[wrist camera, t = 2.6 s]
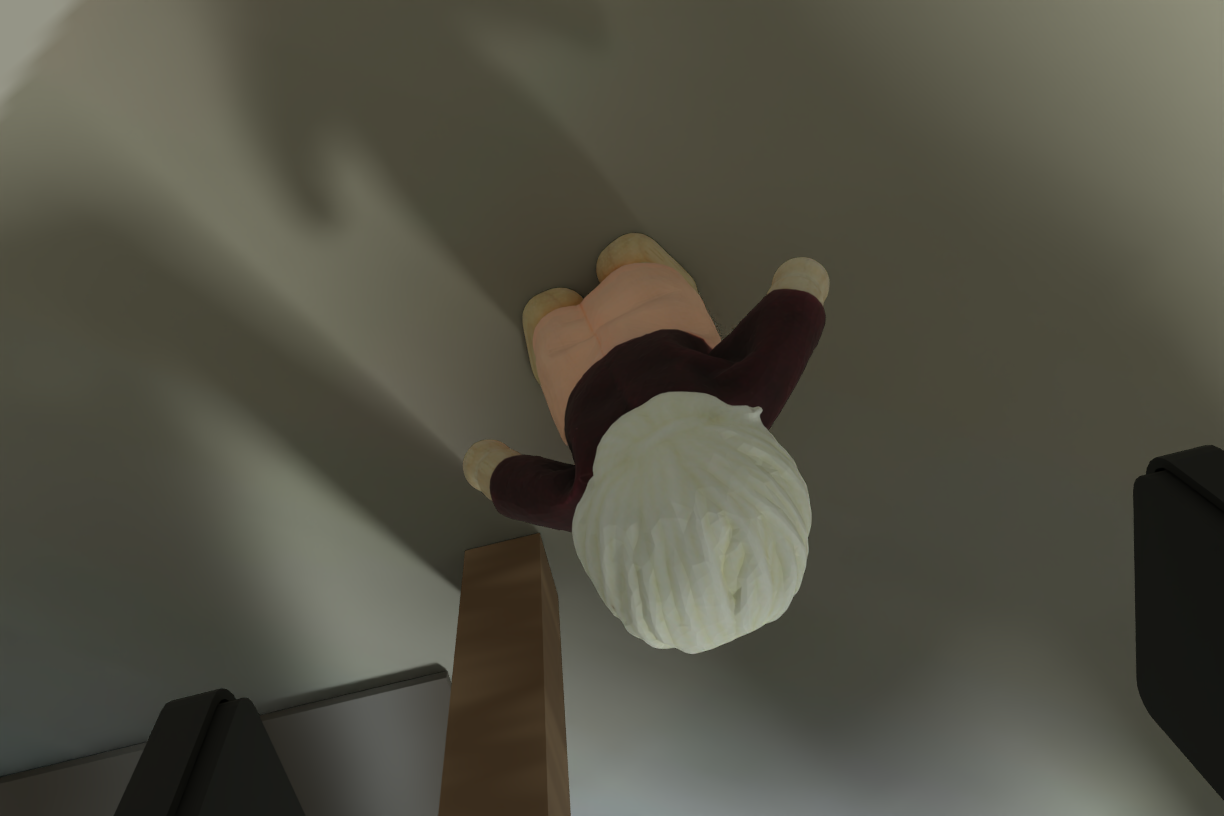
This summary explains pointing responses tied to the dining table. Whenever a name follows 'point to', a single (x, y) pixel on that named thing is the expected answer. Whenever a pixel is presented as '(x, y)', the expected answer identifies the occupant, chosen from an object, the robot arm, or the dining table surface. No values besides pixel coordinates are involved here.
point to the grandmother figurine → (668, 445)
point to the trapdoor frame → (404, 722)
